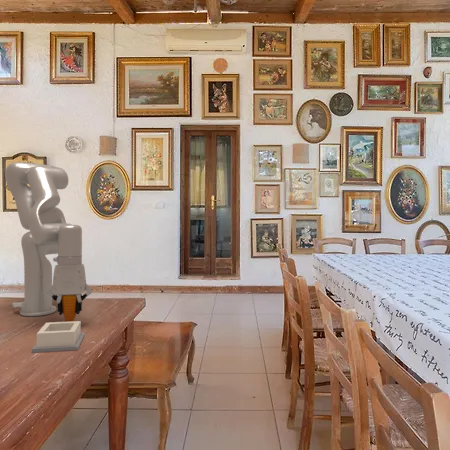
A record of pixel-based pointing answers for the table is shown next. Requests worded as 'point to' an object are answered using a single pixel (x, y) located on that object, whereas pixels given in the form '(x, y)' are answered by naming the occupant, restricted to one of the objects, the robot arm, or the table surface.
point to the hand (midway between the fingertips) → (69, 313)
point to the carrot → (69, 307)
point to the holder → (59, 337)
